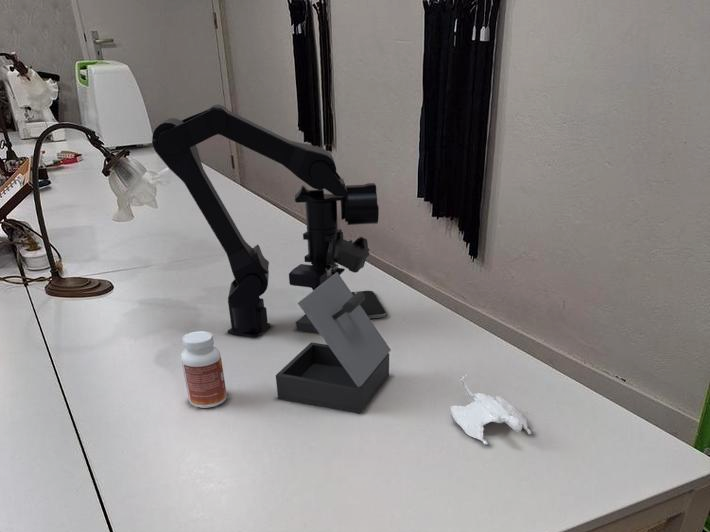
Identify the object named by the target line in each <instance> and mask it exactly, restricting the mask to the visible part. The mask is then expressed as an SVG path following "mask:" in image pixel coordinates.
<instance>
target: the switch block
mask: <svg viewBox="0 0 710 532" xmlns="http://www.w3.org/2000/svg"><path fill="white" fill-rule="evenodd" d="M295 330H296V331H300V332H306V333H315V334H319V332H318V331H317V329H316V328H315V327H314V325H313V324H312V322H311V321H310V320H309V318H308V317H307V315H306V314H305V313H304V314H303V315H302V316H301V317H299V319H297V321H295Z"/></svg>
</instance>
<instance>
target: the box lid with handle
mask: <svg viewBox="0 0 710 532" xmlns="http://www.w3.org/2000/svg"><path fill="white" fill-rule="evenodd" d="M351 292H352V291H351V289H350V288H349V287H348V285H347V283H345V281H344V280H343V278H342V276H341V275H339V274H338V272H336V273H335V274H334V275H333V276H331V277H330V278H329V279H327V280H326V281H325V282H324V283H322V284H321V285H320V286H319V287H317V288H316V289H315V290H314V291H313V290H312V291H311V292H309V293H308V294H307V295H306V296H305V297H304V298H302V299H301V300H300V301H298V302H297V304H298V306H299V308H300V309H301V310H302V311H303V313H304V315H305V314H306V315H307V317H308V318H309V320H310V321H311V322H312V324H313V325H314V327H315V328H316V329H317V331H318V332H319V333H318V334H319V335H320V336H321V338H322V339H323V341H324V342H325V343H326V345H328V346H329V347H330V349H331V350H332V352H333V353H334V354H335V356H336V357H337V359H338V360H339V361H340V363H341V364H342V366H343V367H344V368H345V370H346V371H347V372H348V374H349V375H350V377H351V378H352V379H353V381H354V382H355V384H356V385H357V386H358V387H360V386H362V385H363V383H364V382H365V381H366V380H367V378H368V377H369V376H370V375H371V374H372V372H373V371H374V370H375V369H376V368H377V366H378V365H379V364H380V363H381V362H382V360H383V359H384V358H385V357H386V355H387V354H390V352H391V351H392V349H391V348H390V346H389V345H388V344H387V342H386V341H385V339H384V338H383V336H382V335H381V333H380V332H379V330H378V329H377V327H376V326H375V325H374V323H373V322H372V320H371V318H370V319H369V317H368V316H367V314H366V313H365V311H364V310H363V309H362V307H361V306H360V304H361V303H362V302H363V301H364V300H365V295H364V293H363V292H358V291H356V292H357V293H356V294H355V295H354V296H353V294H352V293H351Z"/></svg>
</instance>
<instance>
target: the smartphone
mask: <svg viewBox="0 0 710 532" xmlns="http://www.w3.org/2000/svg"><path fill="white" fill-rule="evenodd" d="M357 292H363V293H364V295H365V300H364V301H363V302H362V303H361V304H360V306H361V307H362V309H363V310H364V311H365V313H366V314H367V316H368V317H369V319H370V320H371V319H379V318H385V317H387V311H386V309H385V307H384V306H383V305H382V303H381V301H380V300H379V298H378V297H377V295H376V293H375V292H374V291H373V290H357V291H351V293H352V294H353V296H354V295H355V294H356V293H357Z"/></svg>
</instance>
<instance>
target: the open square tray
mask: <svg viewBox="0 0 710 532" xmlns="http://www.w3.org/2000/svg"><path fill="white" fill-rule="evenodd" d="M389 377H390V353H388V354H387V355H386V357H385V358H384V359H383V360H382V362H381V363H380V364H379V365H378V366H377V368H376V369H375V370H374V371H373V372H372V374H371V375H370V376H369V377H368V378H367V380H366V381H365V382H364V383H363V385H362V386H360V387H358V386H357V385H356V384H355V382H354V381H353V379H352V378H351V377H350V375H349V374H348V372H347V371H346V370H345V368H344V367H343V366H342V364H341V363H340V361H339V360H338V359H337V357H336V356H335V354H334V353H333V352H332V350H331V349H330V347H329V346H328V345H327V343H326V344H325V343H320V342H319V343H318V342H313V341H311V342H310V343H309V344H307V345H306V346H305V347H304V348H303V349H302V350H301V351H300V352H299V353H298V354H297V355H296V356H294V358H293V359H291V360H290V361H289V362H288V363H287V364H286V365H285V366H284V367H283V368H282V369H281V370H279V371H278V372H277V374H276V375H275V382H276V383H275V384H276V393H277V399H278V400H283V401H289V402H294V403H299V404H306V405H311V406H317V407H323V408H328V409H333V410H339V411H344V412H350V413H356V414H362V413H363V411H364V410H365V408H366V407H367V406H368V404H370V402H371V400H373V398H374V397H375V396H376V394H377V393H378V392H379V391H380V389H381V387H382V386H384V384H385V382H387V380H388V379H389Z"/></svg>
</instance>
